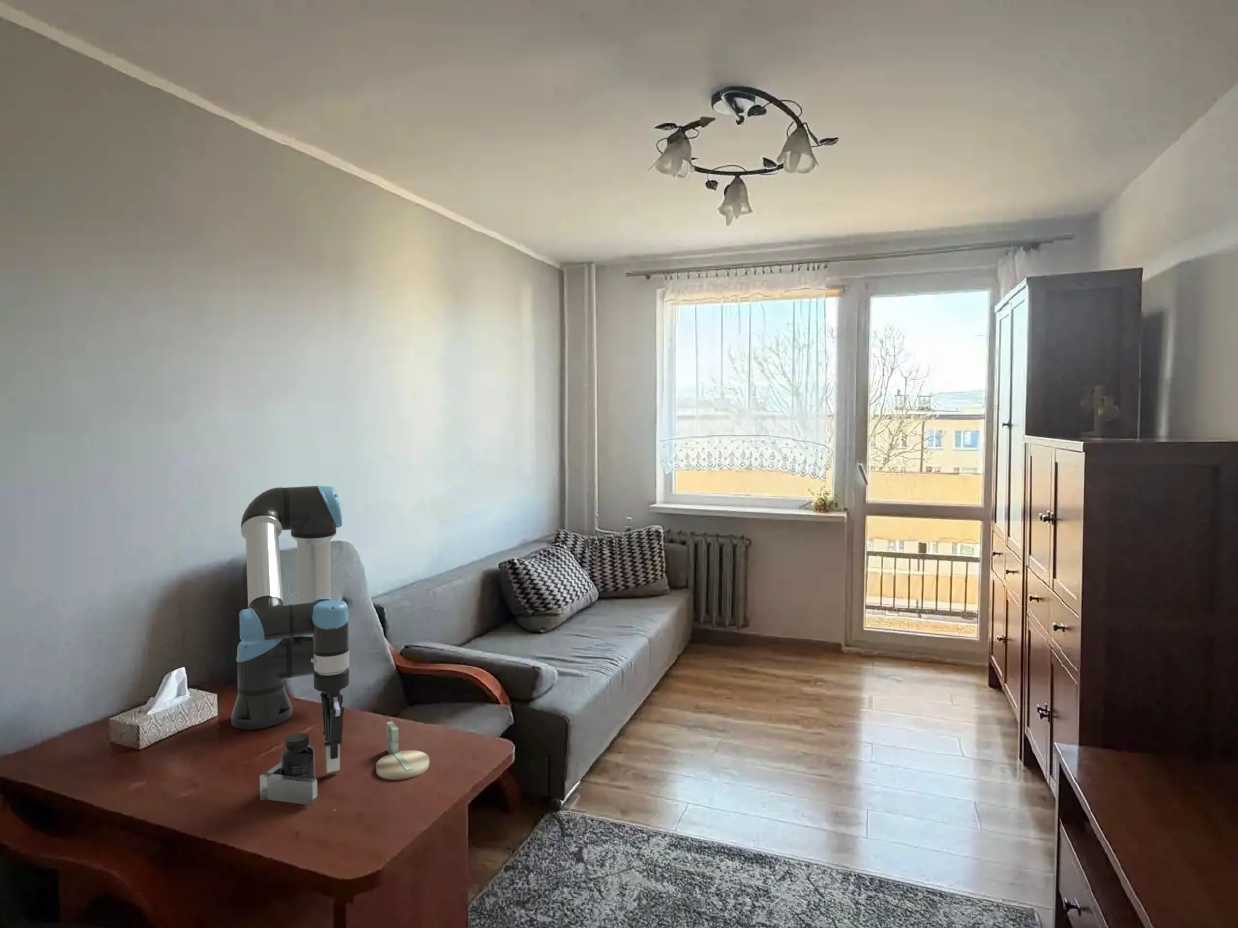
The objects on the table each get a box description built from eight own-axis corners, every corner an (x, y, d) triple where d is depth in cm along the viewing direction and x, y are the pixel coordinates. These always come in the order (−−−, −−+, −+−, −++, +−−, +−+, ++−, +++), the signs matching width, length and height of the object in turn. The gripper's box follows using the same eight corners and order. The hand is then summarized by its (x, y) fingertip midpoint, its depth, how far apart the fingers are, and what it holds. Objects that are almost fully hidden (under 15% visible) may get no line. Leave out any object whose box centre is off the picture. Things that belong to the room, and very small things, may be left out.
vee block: (254, 781, 165) (254, 760, 165) (303, 769, 170) (302, 749, 170) (266, 817, 150) (265, 794, 149) (318, 803, 155) (318, 781, 155)
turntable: (364, 755, 175) (364, 727, 175) (413, 743, 182) (413, 716, 181) (384, 784, 161) (383, 754, 161) (436, 770, 168) (436, 741, 167)
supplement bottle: (320, 782, 165) (319, 731, 164) (306, 797, 158) (305, 744, 157) (290, 781, 165) (289, 730, 164) (275, 797, 158) (274, 743, 157)
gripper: (308, 664, 168) (310, 762, 169) (319, 681, 157) (321, 786, 158) (342, 658, 172) (343, 754, 173) (355, 675, 161) (356, 777, 162)
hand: (333, 769), depth 166 cm, fingers closed
